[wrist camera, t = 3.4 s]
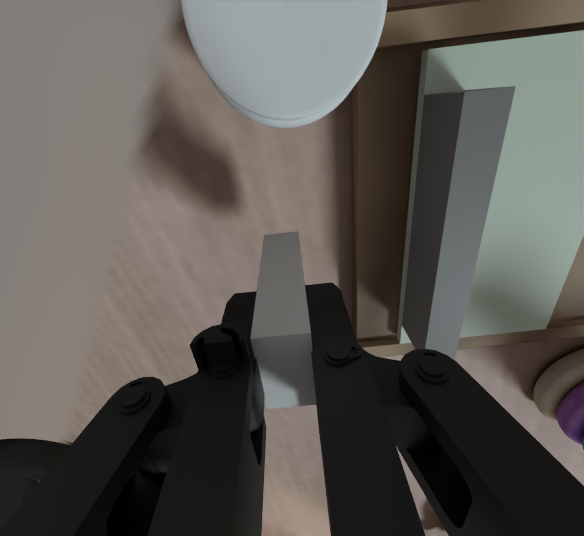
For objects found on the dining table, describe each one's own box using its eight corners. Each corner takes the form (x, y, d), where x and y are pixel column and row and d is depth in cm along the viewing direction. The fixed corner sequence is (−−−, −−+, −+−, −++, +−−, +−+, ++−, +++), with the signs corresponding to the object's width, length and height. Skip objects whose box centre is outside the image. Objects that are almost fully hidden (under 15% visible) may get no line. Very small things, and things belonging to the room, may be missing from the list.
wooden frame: (353, 343, 21) (358, 361, 20) (351, 20, 12) (361, 8, 11) (669, 310, 21) (700, 326, 19) (899, -49, 12) (988, -71, 10)
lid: (396, 337, 19) (420, 383, 16) (421, 51, 12) (473, 32, 9) (538, 322, 19) (590, 366, 16) (652, 23, 12) (791, -7, 8)
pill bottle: (300, -46, 11) (336, -319, 4) (355, 77, 13) (447, 45, 6) (204, 37, 12) (96, -58, 5) (269, 139, 14) (257, 176, 7)
